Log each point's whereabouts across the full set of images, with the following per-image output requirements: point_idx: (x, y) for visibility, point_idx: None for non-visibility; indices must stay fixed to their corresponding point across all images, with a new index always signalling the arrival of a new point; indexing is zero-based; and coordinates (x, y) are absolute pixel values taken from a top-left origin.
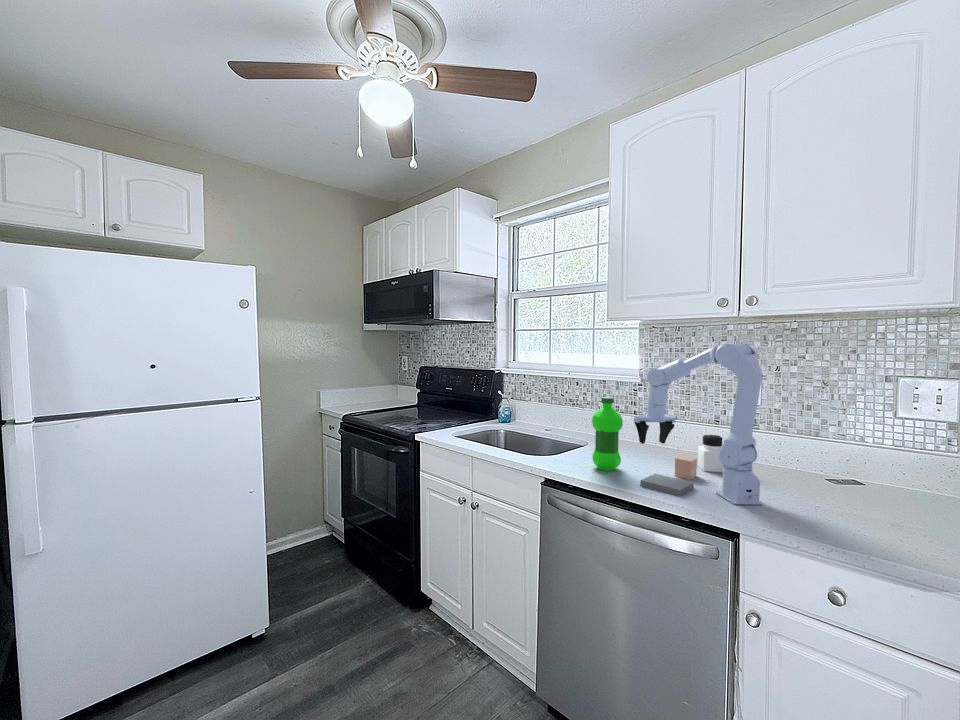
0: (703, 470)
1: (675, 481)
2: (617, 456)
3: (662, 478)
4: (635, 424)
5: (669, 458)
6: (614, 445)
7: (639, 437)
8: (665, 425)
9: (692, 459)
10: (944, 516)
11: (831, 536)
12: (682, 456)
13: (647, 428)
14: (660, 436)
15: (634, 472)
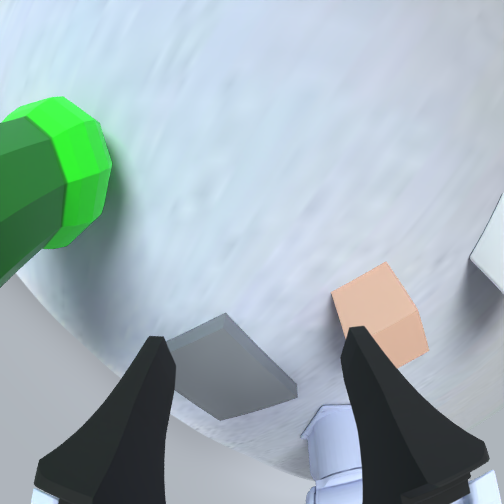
0: (470, 256)
1: (247, 388)
2: (67, 237)
3: (220, 368)
4: (56, 455)
5: (479, 59)
6: (16, 271)
7: (134, 370)
8: (375, 496)
9: (402, 360)
10: (486, 418)
11: None
12: (408, 323)
13: (158, 494)
14: (363, 370)
15: (177, 225)
